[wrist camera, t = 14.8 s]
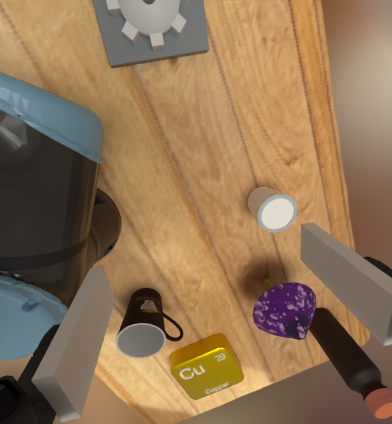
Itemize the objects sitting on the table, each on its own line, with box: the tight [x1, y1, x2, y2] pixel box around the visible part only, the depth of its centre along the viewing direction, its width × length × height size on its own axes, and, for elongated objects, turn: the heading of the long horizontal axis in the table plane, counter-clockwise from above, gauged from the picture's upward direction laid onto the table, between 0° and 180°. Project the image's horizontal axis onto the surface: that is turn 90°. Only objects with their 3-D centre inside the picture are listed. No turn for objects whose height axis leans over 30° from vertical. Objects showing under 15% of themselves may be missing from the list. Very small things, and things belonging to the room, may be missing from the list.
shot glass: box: [247, 186, 298, 233], centre depth 40 cm, size 7×7×7 cm
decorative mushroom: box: [253, 277, 316, 340], centre depth 44 cm, size 12×12×15 cm
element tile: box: [170, 333, 244, 400], centre depth 57 cm, size 15×15×5 cm
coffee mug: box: [116, 288, 183, 358], centre depth 45 cm, size 12×9×10 cm
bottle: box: [309, 308, 392, 419], centre depth 48 cm, size 7×7×20 cm
